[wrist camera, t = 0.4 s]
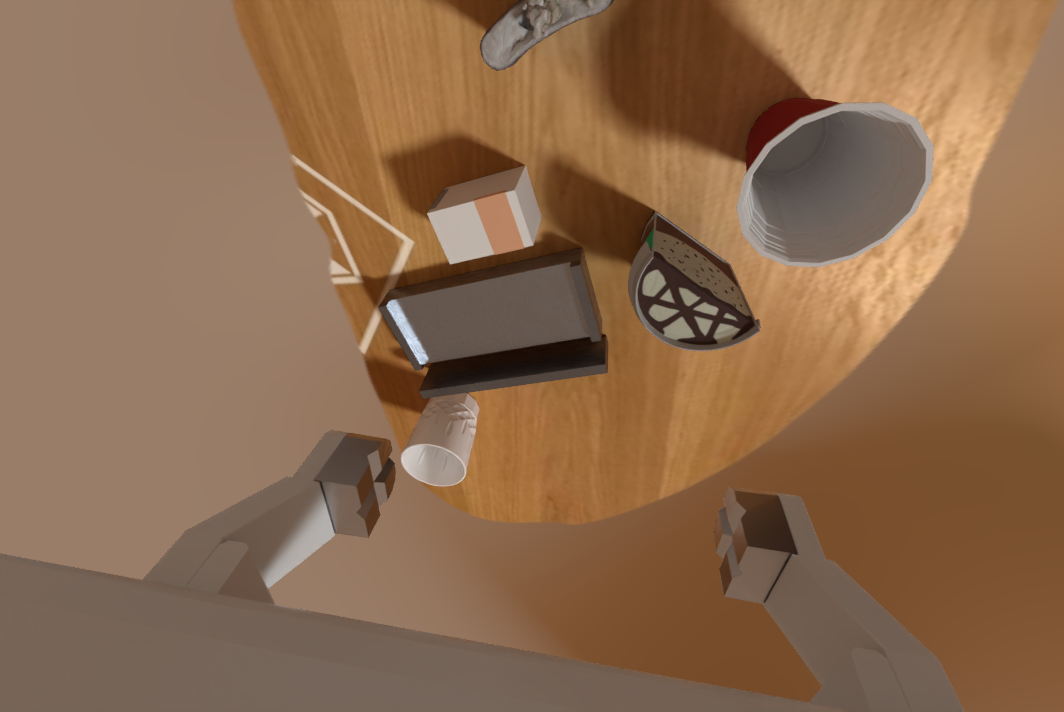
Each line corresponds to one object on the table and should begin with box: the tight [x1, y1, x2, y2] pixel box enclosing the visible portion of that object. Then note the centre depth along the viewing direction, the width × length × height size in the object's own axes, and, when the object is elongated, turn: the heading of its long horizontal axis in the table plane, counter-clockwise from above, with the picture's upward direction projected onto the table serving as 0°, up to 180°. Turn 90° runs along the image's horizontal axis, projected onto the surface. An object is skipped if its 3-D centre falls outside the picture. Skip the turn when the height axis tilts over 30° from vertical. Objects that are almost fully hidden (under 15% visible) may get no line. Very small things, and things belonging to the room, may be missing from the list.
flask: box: [480, 0, 614, 71], centre depth 32 cm, size 9×3×11 cm, turn 118°
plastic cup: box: [737, 98, 934, 267], centre depth 35 cm, size 11×11×12 cm
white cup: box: [401, 393, 479, 486], centre depth 61 cm, size 8×8×10 cm
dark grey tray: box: [378, 248, 608, 399], centre depth 53 cm, size 12×22×5 cm, turn 108°
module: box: [427, 165, 541, 264], centre depth 44 cm, size 5×8×6 cm, turn 108°
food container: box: [628, 211, 761, 351], centre depth 44 cm, size 12×6×10 cm, turn 58°
